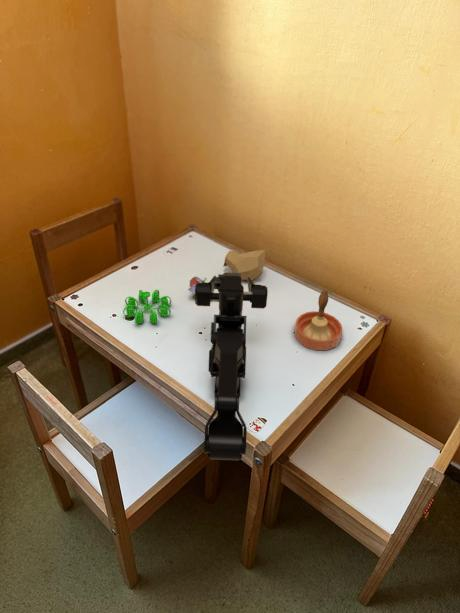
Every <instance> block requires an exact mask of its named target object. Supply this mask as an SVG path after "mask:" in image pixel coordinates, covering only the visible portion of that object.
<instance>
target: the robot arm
mask: <svg viewBox="0 0 460 613" xmlns="http://www.w3.org/2000/svg"><path fill="white" fill-rule="evenodd" d="M242 281H243V280H242V279H241V274H240V273H234V272H228V271H226V272H223V274H221V273H219V274H218V275H214V276H213V277H212V278H211V279H210V280H209V281H208V282H206V281H205V282H203V283H197V284H196V286H195V297H194V303H195V305H196V306H197V307H211V303H218V310H219V311H218V314H213V321H211V322H210V343H211V344H212V345H211V348H210V350H209V351H208V372H209V375H210V378H214V392H213V395H214V407H213V408H214V410H213V411H212V413H211V415H210V416H209V418H208V420H207V421H206V423H205V427H204V440H203V441H204V442H203V443H204V444H203V445H204V446H203V453H204V454H207V458H208V459H209V460H215V461H216V460H217V461H240V460H242V458H243V456H246V455H247V432H248V429H247V424H246V422H245V420H244V418H243V417H242V415H241V413H240V398H241V379H246V369H247V368H246V366H247V365H246V363H247V346H246V345H247V315H243V307H244V306H243V305H244V302H249V303H250V308H251V309H261V310H262V309H265V308H266V307H267V304H268V292H269V290H268V287H267V285H262V284H255V282H254V280H251V279H250V277H248V280H247V290H248V291H245V287H244V286H243V284H242ZM215 290H217V292H215ZM242 327H243V328H242ZM236 415H237V416H236Z"/></svg>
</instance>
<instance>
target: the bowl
mask: <svg viewBox="0 0 460 613" xmlns="http://www.w3.org/2000/svg"><path fill="white" fill-rule="evenodd" d="M315 316H318V311H317V310H316V311H314V310H312V311H307V312H303V313H302V314H300V315H299V316H298V317H297V318H296V321H295V326H294V337H295V339H296V340H297V342H299V343H300V344H301V345H302V346H303V347H306V348H308V349H311V350H315V351H328V350H331V349H334V348H336V347H337V346H338V345H339V344H340V342H341V338H342V333H343V325H342V323H341V322H340V320H339V319H338V318H336V317H335V316H333V315H331V314H329V313H327V312H324V317H325V318H326V319H327V321H328V324H327V325H328V329H329V330H330V331H331V334H332V338H331V339H330V340H315V339H311V338H309V337H307V336H305V335H304V334H303V330H304V329H305V328H306V327H307V326H308V325H310V324H311V321H312V319H313V317H315Z"/></svg>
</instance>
